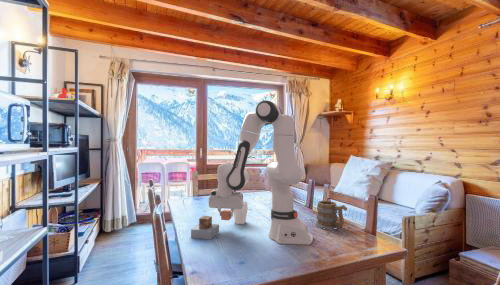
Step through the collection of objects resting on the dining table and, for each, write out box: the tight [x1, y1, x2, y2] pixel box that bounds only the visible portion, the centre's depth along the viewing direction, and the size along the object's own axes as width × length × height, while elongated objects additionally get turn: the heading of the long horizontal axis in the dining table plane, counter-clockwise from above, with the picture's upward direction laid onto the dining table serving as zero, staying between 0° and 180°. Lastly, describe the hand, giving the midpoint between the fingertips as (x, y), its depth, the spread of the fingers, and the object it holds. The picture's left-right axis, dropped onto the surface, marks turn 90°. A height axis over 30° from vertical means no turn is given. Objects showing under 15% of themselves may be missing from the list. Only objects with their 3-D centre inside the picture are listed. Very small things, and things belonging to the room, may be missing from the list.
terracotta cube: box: [220, 209, 233, 221], centre depth 134 cm, size 4×4×4 cm
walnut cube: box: [198, 215, 213, 229], centre depth 125 cm, size 5×5×5 cm
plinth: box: [190, 223, 220, 240], centre depth 125 cm, size 11×11×4 cm
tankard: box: [315, 200, 348, 230], centre depth 137 cm, size 20×13×15 cm, turn 27°
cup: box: [233, 201, 249, 225], centre depth 146 cm, size 9×9×12 cm
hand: (226, 216), depth 134 cm, fingers closed on terracotta cube, 4 cm apart
